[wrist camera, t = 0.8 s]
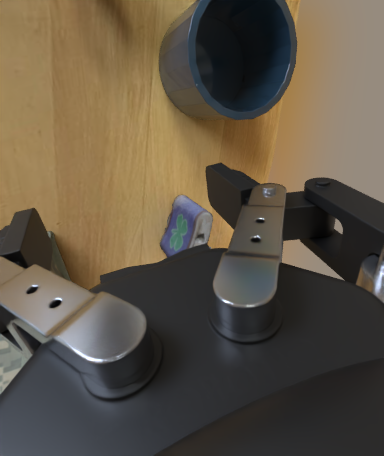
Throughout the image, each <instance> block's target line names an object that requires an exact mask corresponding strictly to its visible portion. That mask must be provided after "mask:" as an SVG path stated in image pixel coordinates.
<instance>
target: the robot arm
mask: <svg viewBox="0 0 384 456" xmlns="http://www.w3.org/2000/svg"><path fill="white" fill-rule="evenodd" d="M206 180H207V190H208V198H209V202H210V204H211V206H212V207H213V208H214V209H215V210H216V212H217V213H218V214H219V215H220V216H221V217H222V218H223V219H224V220H225V221H226V222H227V223H228V224H229V225H230V226H231V227H232V228H233V229H234V232H233V235H232V238H231V241H230V244H229V247H228V249H227V248H214V249H210V247H209V246H208V245H207V243H204V244H201V245H198V246H195V247H192V248H188V249H185V250H182V251H180V252H178V253H176V254H174V255H172V256H170V257H168V258H166V259H164V260H162V261H160V262H158V263H153V264H146V265H139V266H132V267H127V268H124V269H120V270H117V271H114V272H111V273H107V274H104V275H101V276H100V280H101V284H99V285H97V286H95V287H94V288H92V289H91V290H87V289H85V288H83V287H81V286H79V285H77V284H75V283H73V282H71V281H69V280H67V279H65V278H63V277H61V276H59V275H57V274H55V273H53V272H51V271H50V270H51V262H52V254H53V247H52V242H51V240H50V237H49V235H48V233H47V231H46V229H45V226H44V224H43V222H42V220H41V218H40V216H39V214H38V212H37V210H36V209H35V208H31V209H27V210H23V211H19V212H16V213H15V214H14V217H13V219H12V221H11V224H10V225H8V226H5V227H4V228H3V229H2V230H1V231H0V336H1V337H2V338H3V339H4V340H5V341H6V342H7V343H9V344H10V345H11V346H12V347H13V348H15V349H16V350H17V351H18V352H19V353H20V354H22V355H23V356H24V357H25V358H26V359H28V361H27V362H26V363H25V365H24V366H23V367H22V368H21V370H20V371H19V372H18V373H17V374H16V376H15V377H14V378H13V379H12V381H11V382H10V383H9V384H8V386H7V387H6V388H5V389H4V390H3V392H2V393H1V394H0V456H384V203H382V202H380V201H378V200H376V199H373V198H371V197H369V196H367V195H365V194H363V193H361V192H359V191H357V190H355V189H353V188H351V187H349V186H347V185H345V184H343V183H341V182H339V181H337V180H334V179H330V178H313V179H309V180H307V181H306V182H305V187H304V191H300V192H291V193H286V188H285V187H284V186H282V185H280V184H275V183H264V184H260V183H258V182H257V181H255V180H253V179H251V178H250V177H249V176H247V175H246V174H244V173H243V172H241V171H237V170H233V169H232V170H231V169H230V168H228V167H227V166H225V165H224V164H222V163H218V164H214V165H210V166H207V167H206ZM335 219H338V220H339V221H340V222H341V224H342V227H343V234H340V233H339V232H338V231H336V230H335V229H334V224H335ZM297 239H300V241H301V242H302V243H303V244H304V245H305V246H306V247H308V248H309V249H310V250H311V251H312V252H313V253H314V254H315V255H317V256H318V257H319V258H320V259H321V260H322V261H324V262H325V263H326V264H327V265H328V266H329V267H330V268H331V269H333V270H334V271H335V272H336V273H337V274H338V275H339V276H341V277H342V278H343V279H344V280H345V281H344V280H340V279H337V278H333V277H330V276H326V275H323V274H319V273H316V272H313V271H309V270H306V269H302V268H298V267H295V266H292V265H288V264H284V263H282V250H283V241H286V240H297Z"/></svg>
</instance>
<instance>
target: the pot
mask: <svg viewBox="0 0 384 456" xmlns="http://www.w3.org/2000/svg"><path fill="white" fill-rule="evenodd" d="M296 52H297V39H296V32H295V25H294V21H293V18H292V16H291V13H290V11H289V8H288V6H287V3H286V1H285V0H196V1H195V2H194V3H193V4H192V5H191V6H190V7H189V8H188V9H187V10H186V11H185V12H184V13H182V14H181V15H180V16H179V17H178V18H177V19H176V20H175V21H174V22H173V23H172V24H171V25H170V27H169V29H168V30H167V32H166V34H165V36H164V38H163V41H162V44H161V48H160V54H159V71H160V77H161V81H162V84H163V87H164V89H165V92H166V93H167V95H168V97H169V99H170V100H171V101H172V103H173V104H174V105H175V106H176V107H177V108H178V109H179V110H180V111H182V112H183V113H185V114H186V115H188V116H191V117H193V118H197V119H201V120H246V119H254V118H256V117H258V116H260V115H262V114H264V113H266V112H268V111H269V110H270V109H271V108H272V107H273V106H274V105H275V104H276V103H277V102H278V101H279V100H280V99H281V97H282V96H283V94H284V92H285V90H286V89H287V87H288V85H289V83H290V81H291V77H292V74H293V71H294V68H295V64H296Z"/></svg>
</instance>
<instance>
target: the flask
mask: <svg viewBox="0 0 384 456" xmlns="http://www.w3.org/2000/svg"><path fill="white" fill-rule="evenodd" d="M172 206H173V208H172V211H171V214H170V215H169V217H168V220H167V225H168V226H167V228H165V234H164V235H163V237H162V239H161V242H160V246H161V250H163V251H164V253H165V254H166V255H167V258H168V257H170V256H172V255H174V254H176V253H178V252H180V251H182V250H185V249H188V248H192V247H195V246H198V245H201V244H204V243H208V239H209V236H210V231H211V227H212V221H213V216H212V214H211V213H210V212H208V211H207V210H205V209H204V208H202V207H201V206H199V205H198V204H196V203H195V202H194V201H192V200H191V199H189V198H188V197H187V196H185V195H178V196H177V197H176V199H175V200H174V202H173V204H172ZM210 249H211V247H210Z"/></svg>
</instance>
